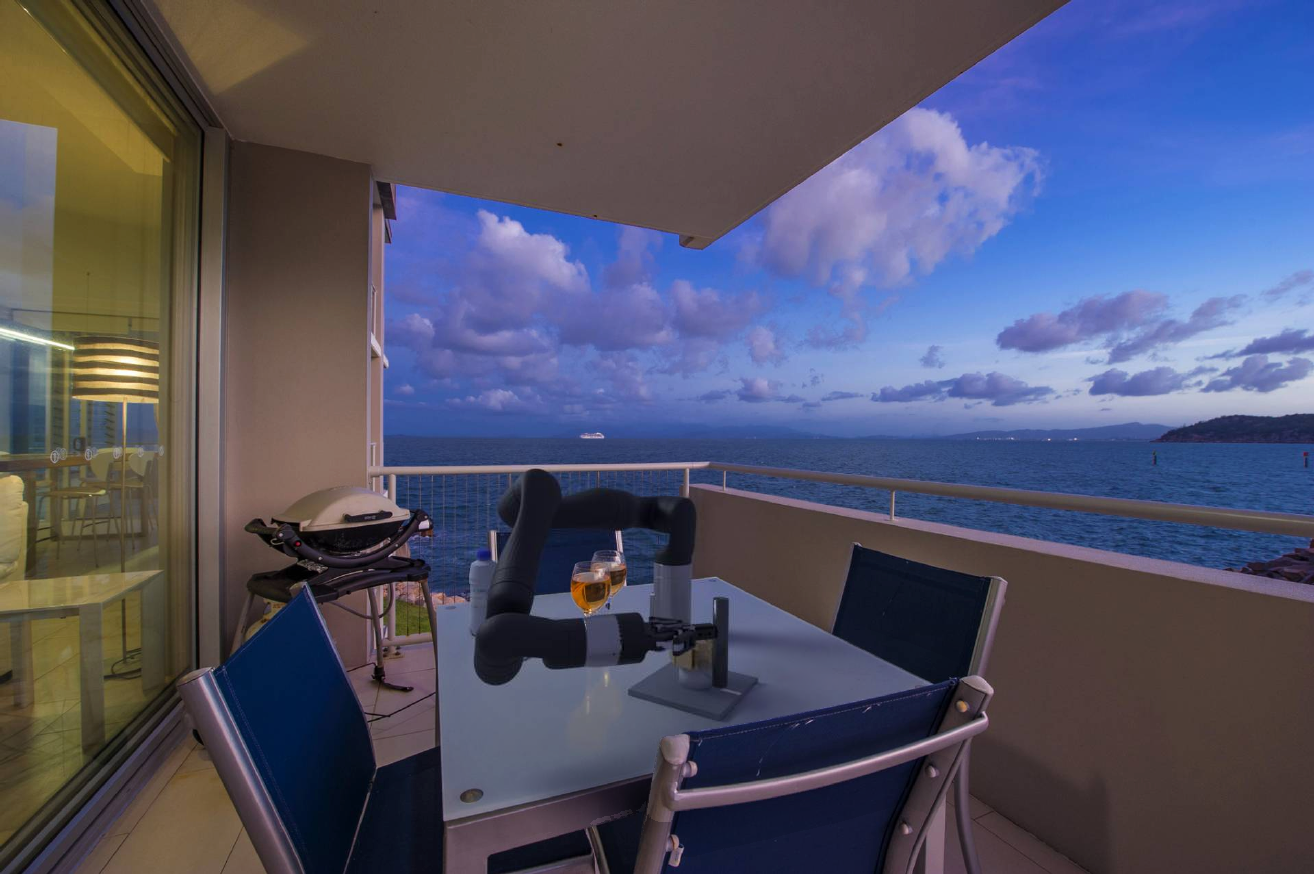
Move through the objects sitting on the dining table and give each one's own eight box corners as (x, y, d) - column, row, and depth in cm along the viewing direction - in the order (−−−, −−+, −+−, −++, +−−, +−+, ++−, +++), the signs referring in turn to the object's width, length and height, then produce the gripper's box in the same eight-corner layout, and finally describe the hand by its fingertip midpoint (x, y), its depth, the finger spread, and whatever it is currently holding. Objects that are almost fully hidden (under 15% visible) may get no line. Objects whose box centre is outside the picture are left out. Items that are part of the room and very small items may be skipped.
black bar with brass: (665, 652, 107) (666, 576, 107) (710, 649, 109) (711, 574, 109) (695, 694, 88) (696, 602, 89) (749, 690, 91) (750, 599, 91)
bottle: (461, 635, 131) (463, 550, 131) (480, 627, 137) (482, 545, 137) (484, 639, 128) (486, 552, 129) (502, 630, 134) (504, 548, 135)
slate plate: (628, 694, 100) (629, 644, 100) (676, 663, 116) (676, 619, 116) (719, 720, 91) (719, 665, 91) (758, 682, 106) (758, 635, 107)
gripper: (600, 649, 91) (696, 640, 97) (622, 681, 78) (732, 668, 84) (601, 603, 91) (698, 597, 97) (624, 627, 79) (733, 619, 84)
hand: (713, 630), depth 91 cm, fingers closed
